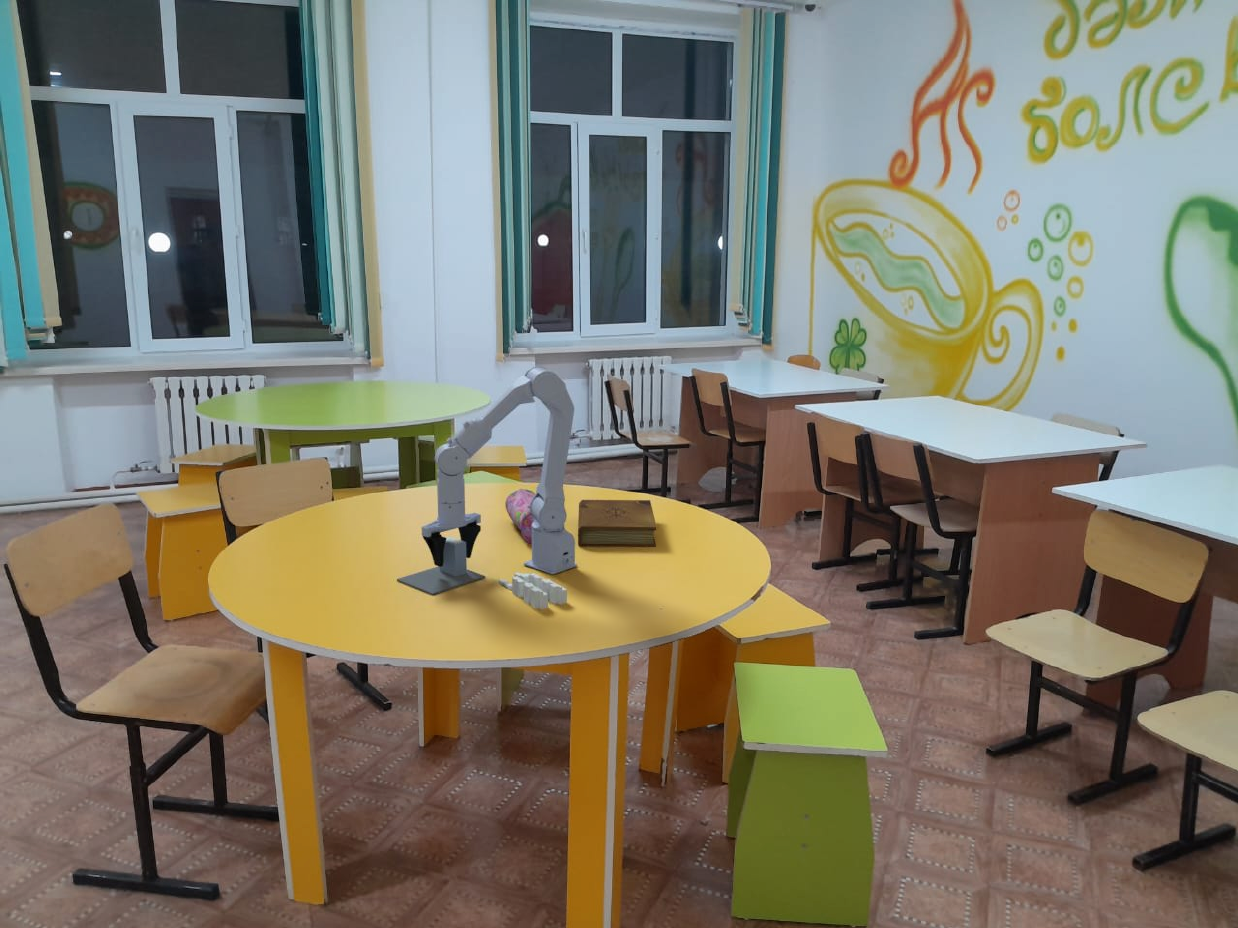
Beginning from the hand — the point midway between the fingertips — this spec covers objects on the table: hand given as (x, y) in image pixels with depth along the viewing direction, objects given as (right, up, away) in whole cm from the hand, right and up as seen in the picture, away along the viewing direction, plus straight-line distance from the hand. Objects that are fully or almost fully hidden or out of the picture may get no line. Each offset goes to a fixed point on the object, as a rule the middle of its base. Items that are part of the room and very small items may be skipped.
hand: (452, 561), depth 195 cm
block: (0, -2, +1) cm, 2 cm away
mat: (-2, -4, -3) cm, 5 cm away
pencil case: (+14, +4, +31) cm, 34 cm away
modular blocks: (+18, -6, -10) cm, 21 cm away
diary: (+35, +3, +32) cm, 47 cm away
